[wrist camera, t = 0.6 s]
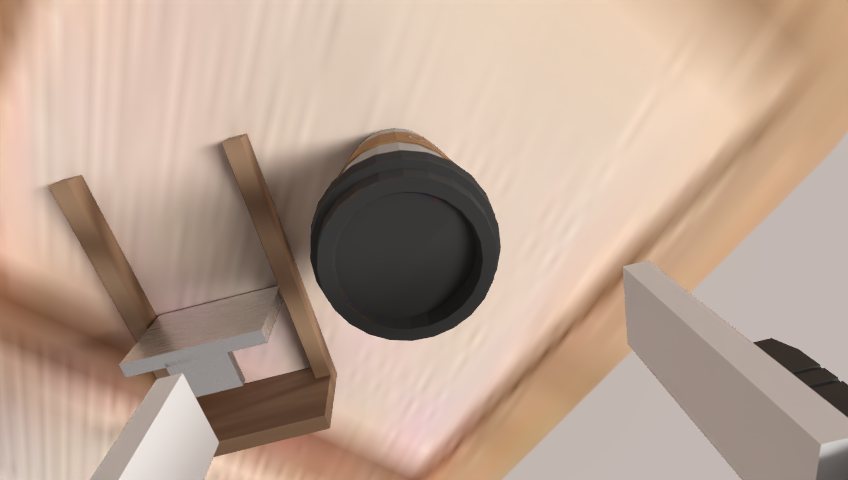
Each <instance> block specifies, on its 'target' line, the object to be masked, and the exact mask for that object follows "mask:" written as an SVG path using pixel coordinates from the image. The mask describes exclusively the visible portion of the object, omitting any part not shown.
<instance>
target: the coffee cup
mask: <svg viewBox="0 0 848 480" xmlns="http://www.w3.org/2000/svg"><path fill="white" fill-rule="evenodd" d="M500 248H501V246H500V237H499V228H498V223H497V221H496V218H495V214H494V211H493V209H492V207H491V204H490V202H489V199H488V197H487V195H486V193H485V192H484V190H483V189H482V188H481V187H480V185H479V184H478V183H477V182H476V180H475V179H474V178H473V177H472V175H470V174H469V173H468V172H466V171H465V170H463V169H462V168H461V167H459V166H458V165H456V164H455V163H454V162H453V161H451V160H450V159H449V158H448V157H447V156H446V155H445V154H444V153H443V152H442V151H440V150H439V149H438V148H437V147H436V146H435V145H434V144H432V143H431V142H429V141H428V140H427V139H425V138H424V137H422V136H420V135H419V134H417V133H414V132H412V131H409V130H406V129H395V128H393V129H387V130H382V131H379V132H377V133H375V134H373V135H371V136H369V137H368V138H367V139H366V140H365V141H364V142H362V143H361V144H360V146H359V147H358V148H357V149H356V150H355V151H354V153H353V154H352V156H351V157H350V159H349V160H348V162H347V163H346V165H345V166H344V168H343V169H342V171H341V173H340V174H339V176H338V177H337V178H336V179H335V180H334V181H333V182H332V183H331V185H330V186H329V188H328V189H327V191H326V192H325V194H324V195H323V197H322V198H321V200H320V201H319V203H318V206H317V209H316V212H315V215H314V218H313V222H312V225H311V254H310V260H311V263H312V267H313V271H314V274H315V278H316V281H317V283H318V285H319V286H320V288H321V290H322V291H323V293H324V294H325V296H326V298H327V299H328V301H329V302H330V303H331V305H332V307H333V308H334V310H336V311H337V312H338V313H339V314H340V315H341V316H342V317H343V318H344V319H345V320H346V321H347V322H348V323H350V324H351V325H353V326H355V327H357V328H358V329H360V330H362V331H364V332H366V333H368V334H370V335H374V336H377V337H381V338H385V339H389V340H408V341H413V340H418V339H423V338H429V337H434V336H436V335H438V334H441V333H443V332H445V331H448V330H450V329H452V328H454V327H455V326H457V325H458V324H460V323H461V322H462V321H464V320H465V319H466V318H468V317H469V316H470V315H471V314H472V313H473V312H474V311H475V310H476V308H477V307H478V306H479V305H480V304H481V302H482V301H483V300H484V299H485V297H486V295H487V292H488V290H489V288H490V286H491V284H492V282H493V280H494V275H495V273H496V270H497V266H498V260H499V254H500Z"/></svg>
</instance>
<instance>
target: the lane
mask: <svg viewBox="0 0 848 480" xmlns="http://www.w3.org/2000/svg"><path fill="white" fill-rule="evenodd" d="M222 145H223V147H224V150H225V152H226V155H227V157H228V160H229V162H230V165H231V167H232V170H233V172H234V175H235V177H236V180H237V182H238V185H239V187H240V190H241V192H242V195H243V197H244V200H245V202H246V205H247V207H248V210H249V212H250V215H251V217H252V220H253V222H254V225H255V227H256V230H257V232H258V235H259V237H260V240H261V243H262V245H263V248H264V250H265V253H266V255H267V258H268V260H269V263H270V265H271V268H272V270H273V273H274V275H275V278H276V280H277V283H278V285H279V288H280V290H281V293H282V295H283V298H284V300H285V303H286V305H287V308H288V310H289V313H290V315H291V318H292V320H293V323H294V325H295V328H296V330H297V333H298V335H299V338H300V340H301V343H302V345H303V348H304V350H305V353H306V355H307V358H308V360H309V363H310V365H311V368H307V369H303V370H299V371H295V372H291V373H287V374H283V375H279V376H275V377H271V378H267V379H263V380H259V381H255V382H251V383H246V384H244V385H243V386H240V387H236V388H232V389H228V390H224V391H220V392H216V393H212V394H207V395H203V396H199V397H195V398H196V399H197V401H198V403H199V405H200V407H201V409H202V411H203V413H204V415H205V417H206V418H207V420H208V422H209V424H210V426H211V428H212V430H213V432H214V434H215V435H216V437H217V439H218V441H219V444H218V447H217V449H216V451H215V454H214V456H213V457H216V456H220V455H224V454H228V453H232V452H236V451H240V450H244V449H248V448H252V447H256V446H260V445H264V444H268V443H272V442H276V441H280V440H284V439H288V438H293V437H297V436H301V435H305V434H309V433H313V432H317V431H321V430H325V429H329V428H330V424H331V416H332V408H333V401H334V393H335V385H336V377H337V373H336V370H335V367H334V365H333V362H332V359H331V357H330V354H329V351H328V349H327V346H326V343H325V341H324V338H323V335H322V333H321V330H320V327H319V325H318V322H317V319H316V317H315V314H314V311H313V309H312V306H311V303H310V301H309V298H308V295H307V293H306V290H305V287H304V285H303V282H302V279H301V277H300V274H299V271H298V269H297V266H296V263H295V261H294V258H293V255H292V253H291V250H290V247H289V245H288V242H287V239H286V237H285V234H284V231H283V229H282V226H281V223H280V221H279V218H278V215H277V213H276V210H275V207H274V205H273V202H272V199H271V197H270V194H269V191H268V189H267V186H266V183H265V181H264V178H263V175H262V173H261V170H260V167H259V165H258V162H257V159H256V157H255V154H254V151H253V149H252V146H251V143H250V141H249V138H248V135H247V134H244V135H240V136H236V137H232V138H229V139H227V140H225V141H224V142H222ZM49 188H50V190H51V192H52V194H53V195H54V197H55V199H56V201H57V202H58V204H59V206H60V208H61V210H62V211H63V213H64V215H65V217H66V218H67V220H68V222H69V224H70V226H71V227H72V229H73V231H74V233H75V234H76V236H77V238H78V240H79V241H80V243H81V245H82V247H83V249H84V250H85V252H86V254H87V256H88V257H89V259H90V261H91V263H92V265H93V266H94V268H95V270H96V272H97V273H98V275H99V277H100V279H101V281H102V282H103V284H104V286H105V288H106V289H107V291H108V293H109V295H110V296H111V298H112V300H113V302H114V304H115V305H116V307H117V309H118V311H119V312H120V314H121V316H122V318H123V320H124V321H125V323H126V325H127V327H128V328H129V330H130V332H131V334H132V336H133V337H134V339H135V341H136V343H137V342H138V341H139V340H140V338H141V337H142V336H143V335H144V334H145V332H146V331H147V330H148V329H149V328H150V326H151V325H152V324H153V323H154V321H155V320H156V319H157V316H156V314H155V313H154V311H153V309H152V307H151V305H150V303H149V301H148V299H147V298H146V296H145V294H144V292H143V290H142V288H141V286H140V284H139V282H138V281H137V279H136V277H135V275H134V273H133V271H132V269H131V267H130V265H129V264H128V262H127V260H126V258H125V256H124V254H123V252H122V250H121V248H120V247H119V245H118V243H117V241H116V239H115V237H114V235H113V233H112V231H111V230H110V228H109V226H108V224H107V222H106V220H105V218H104V216H103V214H102V213H101V211H100V209H99V207H98V205H97V203H96V201H95V199H94V197H93V196H92V194H91V192H90V190H89V188H88V186H87V184H86V182H85V180H84V179H83V177H82V175H80V176H76V177H72V178H68V179H64V180H61V181H59V182H57V183H54V184H52V185H49ZM153 373H154V375H155V376H156V378H157V379H160V378H164V377H168V376H170V374H169V372H168V371H167V369H166V368H163V369H159V370H155V371H153Z"/></svg>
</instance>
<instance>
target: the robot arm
mask: <svg viewBox="0 0 848 480" xmlns="http://www.w3.org/2000/svg"><path fill="white" fill-rule="evenodd" d="M623 277H624V293H625V309H626V325H627V341H628V345H629V346H630V347H631V348H632V349H633V351H634V352H635V353H636V354H637V355H638V357H639V358H640V359H641V360H642V361H643V362H644V364H645V365H646V366H647V367H648V368H649V370H650V371H651V372H652V373H653V374H654V376H655V377H656V378H657V379H658V380H659V382H660V383H661V384H662V385H663V386H664V388H665V389H666V390H667V391H668V392H669V394H670V395H671V396H672V397H673V398H674V399H675V401H676V402H677V403H678V404H679V405H680V407H681V408H682V409H683V410H684V411H685V413H686V414H687V415H688V416H689V417H690V419H691V420H692V421H693V422H694V423H695V425H696V426H697V427H698V428H699V429H700V430H701V432H702V433H703V434H704V435H705V436H706V437H707V439H708V440H709V441H710V442H711V444H713V446H714V447H715V448H716V449H717V451H718V452H719V453H720V454H721V455H722V457H723V458H724V459H725V460H726V461H727V463H728V464H729V465H730V466H731V467H732V468H733V470H734V471H735V472H736V473H737V475H738V476H739V477H740V478H741V479H742V480H848V385H847V384H846V383H845V382H843V381H841V382H840V381H839V380H838V377H836V376H835V375H833V374H832V373H831V372H829V371H828V370H826V369H825V368H821V367H820V364H818V363H817V362H815V361H814V360H813V359H811V358H810V357H808V356H807V355H806V354H804V353H803V352H801V351H800V350H799V349H796V348H794V347H791V346H789V345H787V344H784V343H782V342H779V341H777V340H774V339H772V338H770V339H766V340H762V341H758V342H751V341H750V340H749V339H748V338H746V337H745V336H744V335H742V334H741V333H740V332H739V331H737V330H736V329H735V328H734V327H732V326H731V325H730V324H729V323H727V322H726V321H725V320H723V319H722V318H721V317H720V316H718V315H717V314H716V313H715V312H713V311H712V310H711V309H710V308H708V307H707V306H706V305H705V304H703V303H702V302H701V301H699V300H698V299H697V298H696V297H694V296H693V295H692V294H691V293H689V292H688V291H687V290H686V289H684V288H683V287H682V286H681V285H679V284H678V283H677V282H675V281H674V280H673V279H672V278H670V277H669V276H668V275H667V274H665V273H664V272H663V271H662V270H660V269H659V268H658V267H656V266H655V265H654V264H653V263H651V262H650V261H649V260H648V261H644V262H639V263H635V264H631V265H627V266H623ZM218 444H219V441H218V439H217V437H216V435H215V434H214V432H213V430H212V428H211V426H210V424H209V422H208V420H207V418H206V417H205V415H204V413H203V411H202V409H201V407H200V405H199V403H198V401H197V399H196V398H195V396H194V394H193V392H192V390H191V388H190V386H189V384H188V382H187V381H186V379H185V377H184V375H183V373H180V374H176V375H172V376H168V377H164V378H160V379H157V380H156V381H155V383H154V384H153V386H152V387H151V389H150V390H149V392H148V393H147V395H146V396H145V398H144V399H143V401H142V402H141V404H140V405H139V407H138V408H137V410H136V411H135V413H134V414H133V416H132V417H131V419H130V420H129V422H128V423H127V425H126V426H125V428H124V429H123V431H122V432H121V434H120V435H119V437H118V438H117V440H116V441H115V443H114V444H113V446H112V447H111V449H110V450H109V452H108V453H107V455H106V456H105V458H104V459H103V461H102V462H101V464H100V465H99V467H98V468H97V470H96V471H95V473H94V474H93V476H92V477H91V479H90V480H204V479H205V476H206V474H207V471H208V469H209V466H210V464H211V461H212V459H213V456H214V454H215V451H216V449H217V447H218Z"/></svg>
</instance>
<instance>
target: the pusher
mask: <svg viewBox="0 0 848 480" xmlns="http://www.w3.org/2000/svg"><path fill="white" fill-rule="evenodd" d="M283 299H284V298H283V295H282V293H281V290H280V288H279V286H275V287H271V288H267V289H263V290H259V291H254V292H250V293H246V294H242V295H238V296H234V297H230V298H226V299H222V300H218V301H214V302H210V303H206V304H202V305H198V306H194V307H190V308H186V309H182V310H178V311H174V312H170V313H166V314H162V315H159V317H158V318H157V319H156V320H155V321H154V323H153V324H152V325H151V326H150V328H149V329H148V330H147V331H146V332H145V334H144V335H143V336H142V337H141V338H140V340H139V341H138V342H137V343H136V345H135V346H134V347H133V348H132V349H131V351H130V352H129V353H128V354H127V355H126V357H125V358H124V359H123V360H122V362H121V363H120V364H119V366H120V368H121V370H122V371H123V373H124V375H125V376H126V377H130V376H134V375H138V374H142V373H146V372H150V371H155V370H159V369H163V368H166V369H167V371H168V372H169V374H170V376H172V375H176V374H180V373H183V375H184V377H185V379H186V381H187V382H188V384H189V386H190V388H191V390H192V392H193V394H194V396H195V397H199V396H203V395H207V394H212V393H216V392H220V391H224V390H228V389H232V388H236V387H240V386H243V385H244V382H245V378H244V376H243V374H242V371H241V369H240V367H239V365H238V363H237V361H236V359H235V357H234V355H233V352H232V351H235V350H239V349H243V348H247V347H251V346H255V345H259V344H263V343H267V341H268V339H269V336H270V333H271V331H272V328H273V326H274V323H275V320H276V318H277V315H278V312H279V310H280V307H281V305H282V302H283Z"/></svg>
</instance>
